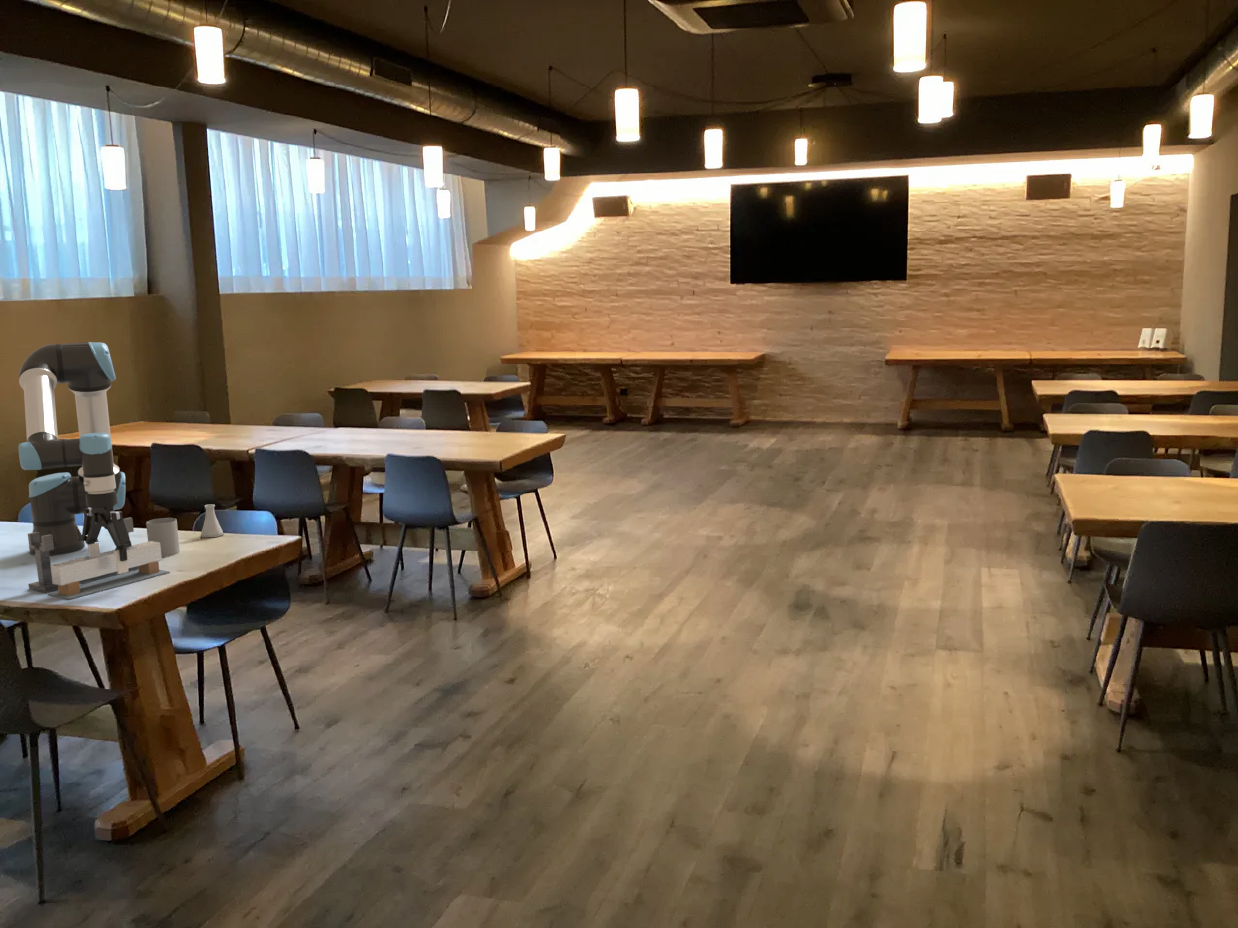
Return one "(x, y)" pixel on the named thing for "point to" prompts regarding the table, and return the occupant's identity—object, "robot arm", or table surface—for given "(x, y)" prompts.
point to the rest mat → (108, 582)
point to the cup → (164, 535)
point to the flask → (211, 523)
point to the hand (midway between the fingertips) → (109, 569)
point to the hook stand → (45, 566)
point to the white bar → (103, 563)
